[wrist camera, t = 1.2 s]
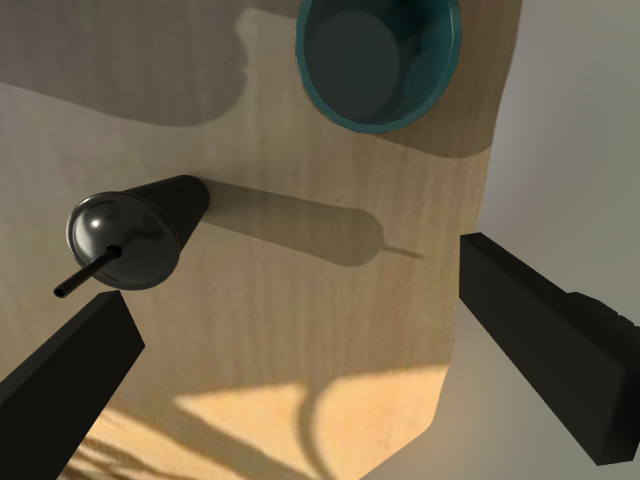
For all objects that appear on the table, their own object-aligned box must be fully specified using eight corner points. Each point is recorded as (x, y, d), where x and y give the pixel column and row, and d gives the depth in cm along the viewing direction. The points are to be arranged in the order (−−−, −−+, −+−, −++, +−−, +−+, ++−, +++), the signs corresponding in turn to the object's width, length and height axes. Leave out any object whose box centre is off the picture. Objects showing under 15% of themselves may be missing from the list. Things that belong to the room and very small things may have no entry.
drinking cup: (208, 153, 34) (91, 208, 15) (232, 219, 37) (158, 333, 18) (139, 170, 34) (-56, 245, 16) (169, 235, 37) (34, 361, 18)
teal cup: (271, 37, 30) (260, 14, 22) (386, -52, 28) (416, -109, 20) (340, 151, 34) (350, 163, 27) (444, 81, 32) (486, 73, 25)
